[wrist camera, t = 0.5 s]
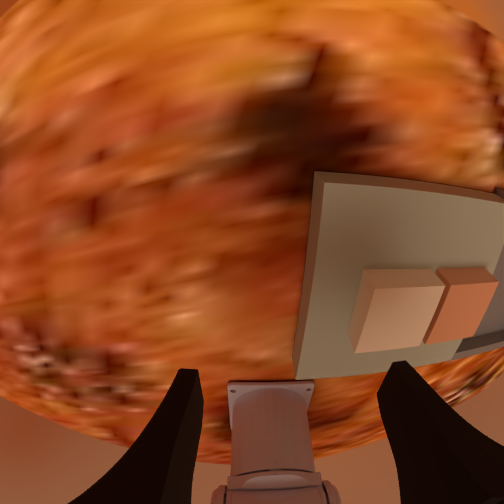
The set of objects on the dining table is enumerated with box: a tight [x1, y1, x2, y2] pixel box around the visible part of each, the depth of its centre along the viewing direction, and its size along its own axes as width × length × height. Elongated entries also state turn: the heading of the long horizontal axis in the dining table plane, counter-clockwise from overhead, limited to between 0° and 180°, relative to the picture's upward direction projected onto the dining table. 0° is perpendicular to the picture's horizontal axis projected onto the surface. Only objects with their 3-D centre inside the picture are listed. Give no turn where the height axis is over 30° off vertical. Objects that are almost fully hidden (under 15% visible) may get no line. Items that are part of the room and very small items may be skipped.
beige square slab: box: [292, 171, 504, 380], centre depth 19 cm, size 15×15×2 cm
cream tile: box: [347, 268, 445, 353], centre depth 17 cm, size 5×5×2 cm
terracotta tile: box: [422, 267, 499, 345], centre depth 17 cm, size 5×5×2 cm
